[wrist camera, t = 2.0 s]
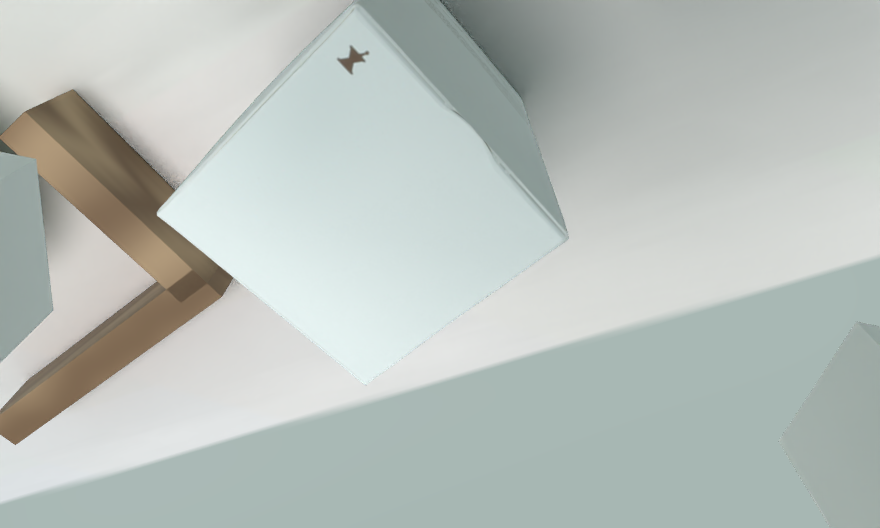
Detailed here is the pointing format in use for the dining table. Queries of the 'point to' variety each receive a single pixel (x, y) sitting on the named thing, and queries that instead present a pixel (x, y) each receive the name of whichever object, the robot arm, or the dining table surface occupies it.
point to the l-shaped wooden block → (129, 226)
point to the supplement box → (375, 186)
